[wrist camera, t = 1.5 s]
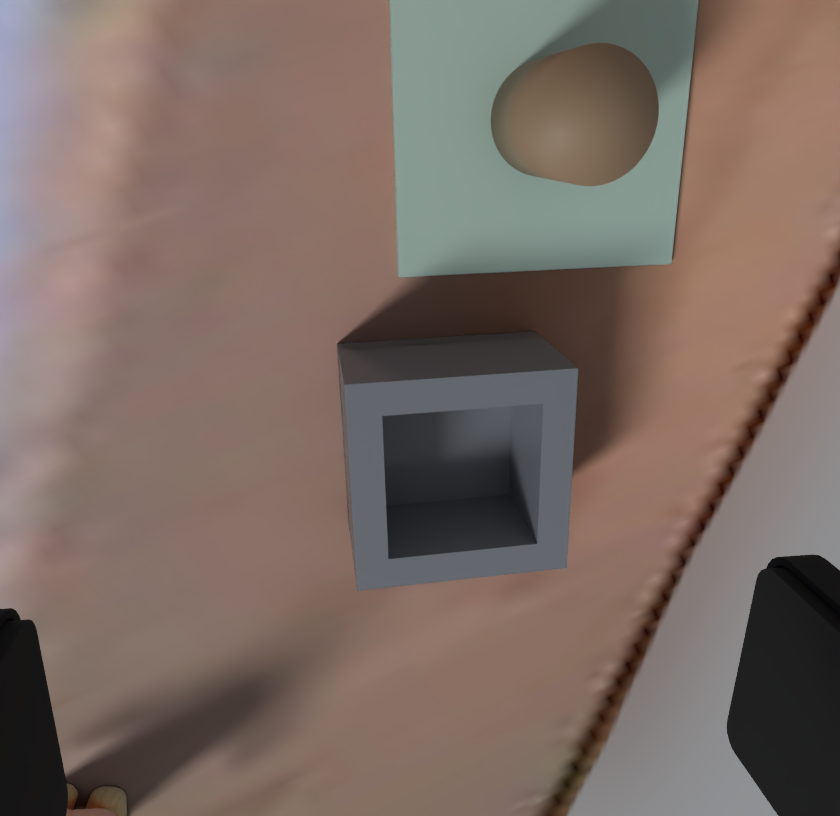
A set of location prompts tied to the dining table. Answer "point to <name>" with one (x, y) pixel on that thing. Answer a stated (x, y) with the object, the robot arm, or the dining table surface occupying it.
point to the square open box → (457, 456)
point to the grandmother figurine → (99, 802)
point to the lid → (538, 132)
